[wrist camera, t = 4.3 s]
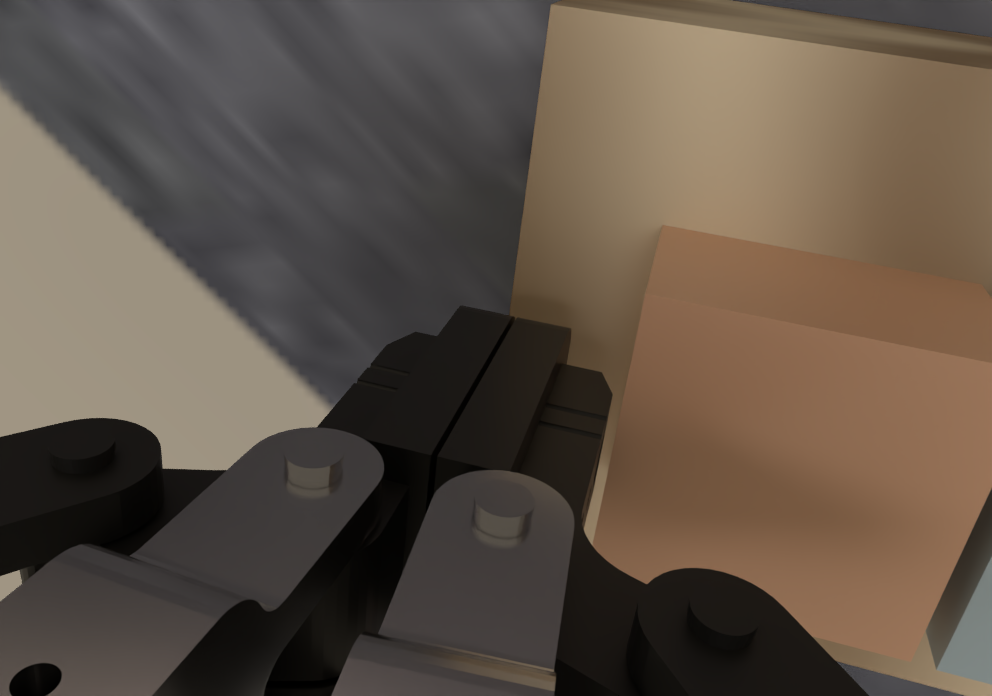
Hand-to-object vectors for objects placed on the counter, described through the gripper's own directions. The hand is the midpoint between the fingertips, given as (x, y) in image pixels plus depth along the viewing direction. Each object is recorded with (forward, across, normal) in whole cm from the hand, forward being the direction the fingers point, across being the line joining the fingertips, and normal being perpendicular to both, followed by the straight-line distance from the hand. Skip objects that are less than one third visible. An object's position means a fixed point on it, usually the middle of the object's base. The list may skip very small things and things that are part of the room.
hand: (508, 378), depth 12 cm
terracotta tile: (+1, -4, 0) cm, 4 cm away
